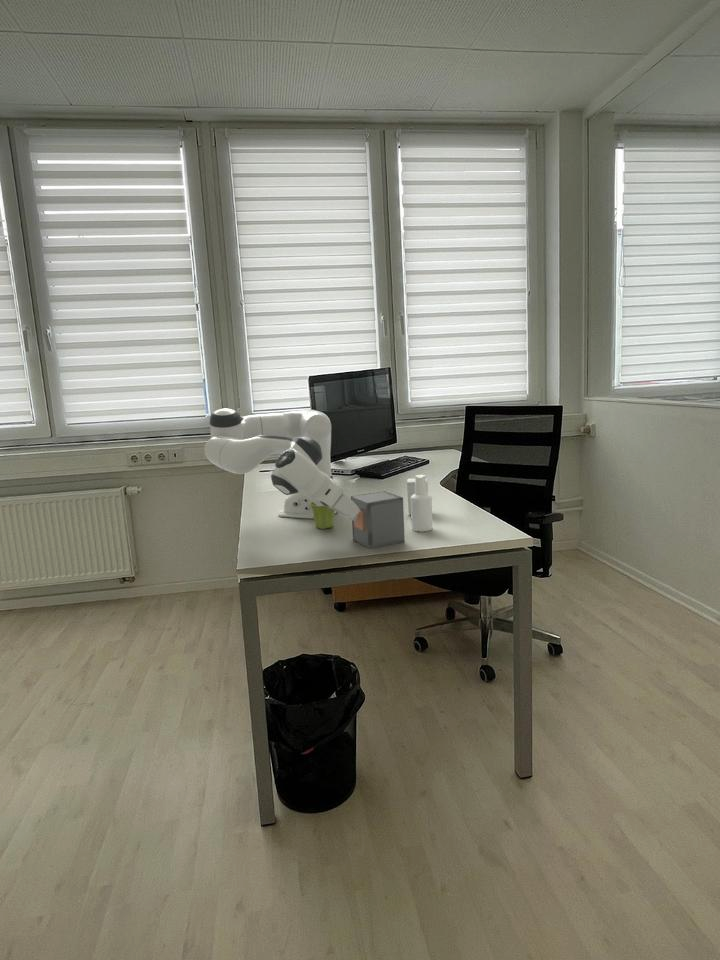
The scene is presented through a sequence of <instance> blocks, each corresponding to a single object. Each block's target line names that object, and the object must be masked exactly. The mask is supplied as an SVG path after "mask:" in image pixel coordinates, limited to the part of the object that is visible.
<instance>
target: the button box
mask: <svg viewBox="0 0 720 960" xmlns="http://www.w3.org/2000/svg"><path fill="white" fill-rule="evenodd" d="M350 499H351V500H352V501H353V502H354V503H355V504H356V505H357V506H358V507H359V508H360V509H362V510H364V520H365V530H361V529H359V528H357V527H355V526H354V521H353V520H351V523H352V524H351V526H352V529H351V530H352V540H353V541H356V542H357V543H359V544H361V545H362V546H364V547H365V548H368V549H373V548H375V549H376V548H381V547H385V546H390V545H396V543H397V544H400V543H405V540H406V539H405V538H406V537H405V515H404V497H403V496H399V495H397V494H394V493H391V492H388V491H378V492H372V493H370V492H369V493H364V494H356V495H352V496H350Z"/></svg>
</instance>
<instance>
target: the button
mask: <svg viewBox="0 0 720 960" xmlns="http://www.w3.org/2000/svg"><path fill="white" fill-rule="evenodd" d="M359 509H360V508H359ZM357 516H358V518H357V520H356V521H354V526H355V527H357V528H359V529H361V530H365V520H364V510H362V509H360V513H359V514H358V515H357Z"/></svg>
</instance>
